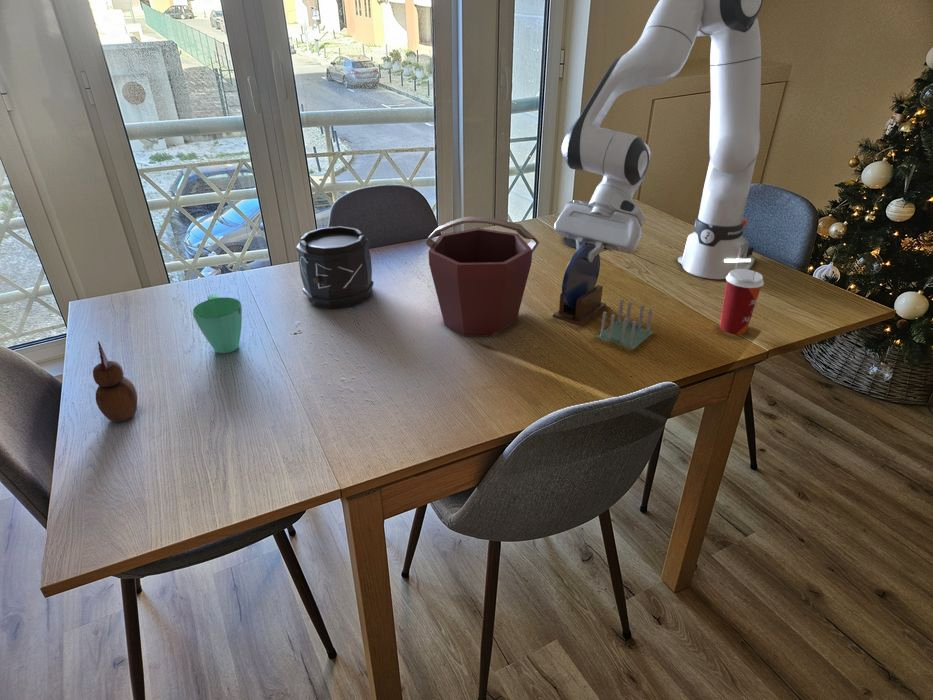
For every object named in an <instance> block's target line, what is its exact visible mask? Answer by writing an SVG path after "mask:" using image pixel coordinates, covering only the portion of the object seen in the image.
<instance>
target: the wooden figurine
mask: <svg viewBox="0 0 933 700" xmlns="http://www.w3.org/2000/svg"><path fill="white" fill-rule="evenodd" d="M97 346H98V351H99V359H100V362H99V363H98V364H96V365H95V366H94V367H93V369H92V377H93V380H94V382H95V384H97V385H98V386H97V388H96V390H95V402H96V405H97V408H98V409H99V412H101V414H102V415H103V416H104V417H105V418H106V419H108V420H109V421H110V422H114V423H121V422H125V421H127V420H129V419H131V418H132V417H133V416H134V415H135V414H136V412H137V410H138V391H137V388H136V386H135V384H134V383H133V382H132V381H131V380H130V379H129V378H127V377H125V376H124V375H125V374H124V370H123V368H122V367H123V366H121V364H120V363H119V362H118V361H116V360H108V357H107V355H106V354H105V351H104V349H103V347H102V345H101V342H100V340H98V341H97Z"/></svg>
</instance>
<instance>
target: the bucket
mask: <svg viewBox="0 0 933 700" xmlns="http://www.w3.org/2000/svg"><path fill="white" fill-rule="evenodd" d="M464 224H488V225H493V226H498V227H502V228H504V229H505V228H506V229H507V230H508V229H509V230H512V231H515V232H516V233H514V232H508V231H501V230H494V229H488V228H480V227H477V228H471V229H466V230H461V231H455V232H449V233H444V234H439V236H438V237H437V238H436V240H433V239H434V237H436V236H437V234H438V233H441V232H444V231H447V230H448V229H451V228H454V227H457V226H460V225H464ZM524 239H526V240H529V241H528V243H527V242H526V241H525V240H524ZM425 244H426V246H427V247H428V248H429V250H428V265H429V269H430V273H431V277H432V280H433V285H434V289H435V292H436V296H437V300H438V304H439V308H440V312H441V317H442V320H443V324H444V325H445V326H447V327H448V328H450V329H452V330H454V331H455V332H456V333H458V334H460V335H461V336H463V337H490V336H492V335H495V333H499V332H501V331H502V330H504V329H505V328H507V327H508V326H509V325H511V324H513V323H514V322H515V321H517V320H518V317H519V312H520V309H521V306H522V301H523V298H524V293H525V289H526V285H527V282H528V277H529V275H530V269H531V266H532V261H533V253H534V251H535V250H536V249H537V247H538V245H539V244H540V242H539V240H538V239H537V238H536V237H535V236H534V235H533V234H532V233H531V232H530V231H528V230H527V229H526V228H525V227H524V225H522V224H520V223H517V222H512V221H508V220H505V219H500V218H495V217H488V216H479V215H478V216H464V217H460V218H457V219H454V220H451V221H448V222H446V223H444V224H442V225H441V224H440V225H439V226H438V227H436V228H435V229H434V230H433V232H432V233H430V235H429V236H428V238H427V239H426V240H425Z"/></svg>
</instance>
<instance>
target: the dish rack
mask: <svg viewBox="0 0 933 700" xmlns="http://www.w3.org/2000/svg"><path fill="white" fill-rule="evenodd" d="M619 300H620V301H619V309H618V318H617V320H616V321H615V318H616V317H615V316H616V315H615V314H614V313H612V314H611V316H610V322H609V323H610V324H609V326H608V327H607V328H606V319H607V311H602V320H601V328H600V333H598V334H597V335H596V336H595V337H596V338H599V339H601V340H604V341H607V342H608V343H609V342H610V343H612V344H616V345H619V346H621V347H624V348H627V349H630V350H635V349H636V348H637V347H638V346H639V345H641V344H642V343H643V342H644V341H645V340H646V339H647V338H648V337H650V336H651V335H652V334H653V333H654V331H652V330H650V329H651V322H652V317H653V310H654V308H653V307H649V309H648V314H647V315H648V316H647V321H646V328H642V326H643V325H642V324H643V316H644V310H645V305H644V304H642V305H640V311H639V317H638V322H637V320H631V321H630V319H631V318H630V317H631V311H632V304H633V302H632V301H631V300H630V301H628V303H627V311H626V317H624V318H623V321H622V316H623V310H624V303H625V302H624V299H623V298H620V299H619Z"/></svg>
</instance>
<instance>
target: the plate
mask: <svg viewBox="0 0 933 700" xmlns="http://www.w3.org/2000/svg"><path fill="white" fill-rule="evenodd" d="M594 248H595V247H593V246H590V245H584V246H582V247H581V248H579V249H578V250H577V249H576V250H577V251H576V250H575V252H574V254H573V255H572V257H571V258H570V260H569V261H568V263H567V265H566V268H565V271H564V274H563V278H562V283H561V293H562V298H563V302H564V304H565V305H566V306H567V307H569V308H572V309H576V302H577V299H578V298H579V297H581V296H582V295H584V294H585V293H587V292H588V291H590V290H591V289H593V288H595V287H596V286H597V282H598V279H599V274H600V270H601V269H600V268H601V258H600V257H601V256H600V253H599V254H598V255H596V256H595V257H594V259H593V261H592V262H588V261H585V259H584V256H585V255H586V252H587V251H588V252H591V251H592V250H593V249H594Z"/></svg>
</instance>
